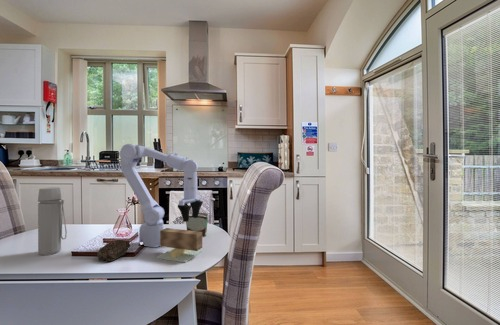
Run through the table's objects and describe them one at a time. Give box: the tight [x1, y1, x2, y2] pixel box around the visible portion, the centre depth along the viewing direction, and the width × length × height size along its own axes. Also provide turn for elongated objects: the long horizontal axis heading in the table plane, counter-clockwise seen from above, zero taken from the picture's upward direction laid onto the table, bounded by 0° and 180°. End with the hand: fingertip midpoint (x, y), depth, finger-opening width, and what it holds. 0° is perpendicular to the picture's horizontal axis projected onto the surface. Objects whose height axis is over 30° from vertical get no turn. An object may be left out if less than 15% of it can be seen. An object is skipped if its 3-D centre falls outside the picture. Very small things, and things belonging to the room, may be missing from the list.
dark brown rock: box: [96, 239, 131, 263], centre depth 99 cm, size 12×10×5 cm
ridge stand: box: [157, 248, 204, 263], centre depth 100 cm, size 12×12×3 cm
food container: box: [185, 212, 210, 238], centre depth 129 cm, size 12×6×10 cm, turn 74°
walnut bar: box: [159, 227, 203, 251], centre depth 100 cm, size 16×4×6 cm, turn 70°
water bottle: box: [37, 186, 68, 256], centre depth 102 cm, size 9×8×25 cm
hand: (190, 219), depth 114 cm, fingers open, 7 cm apart
